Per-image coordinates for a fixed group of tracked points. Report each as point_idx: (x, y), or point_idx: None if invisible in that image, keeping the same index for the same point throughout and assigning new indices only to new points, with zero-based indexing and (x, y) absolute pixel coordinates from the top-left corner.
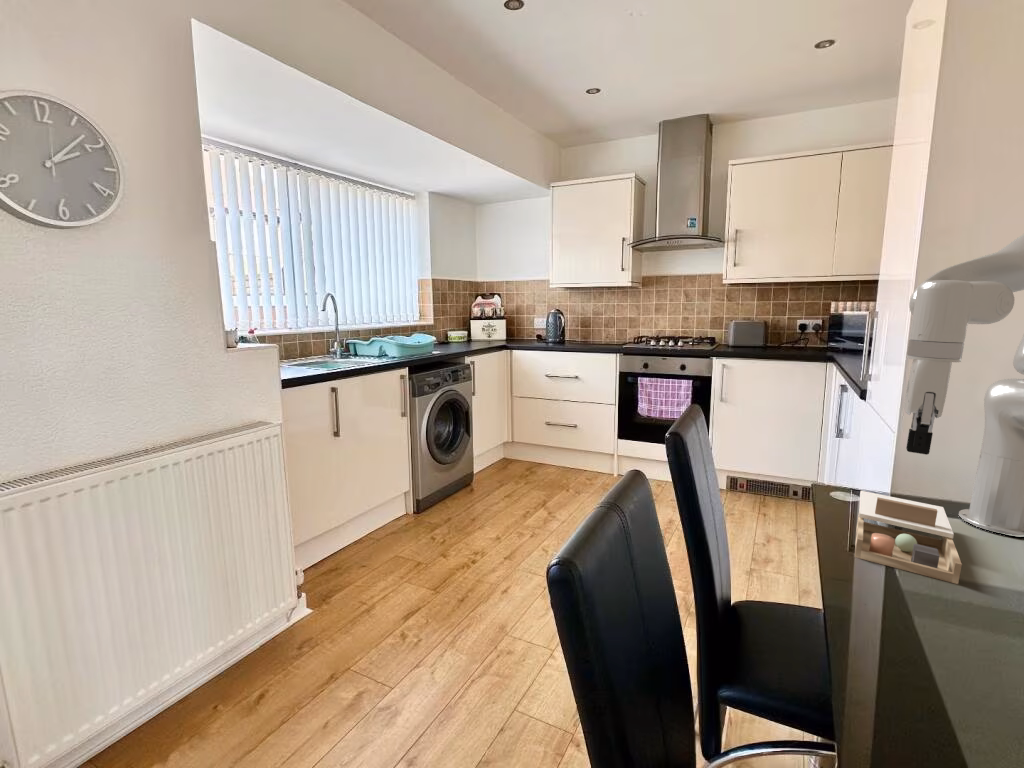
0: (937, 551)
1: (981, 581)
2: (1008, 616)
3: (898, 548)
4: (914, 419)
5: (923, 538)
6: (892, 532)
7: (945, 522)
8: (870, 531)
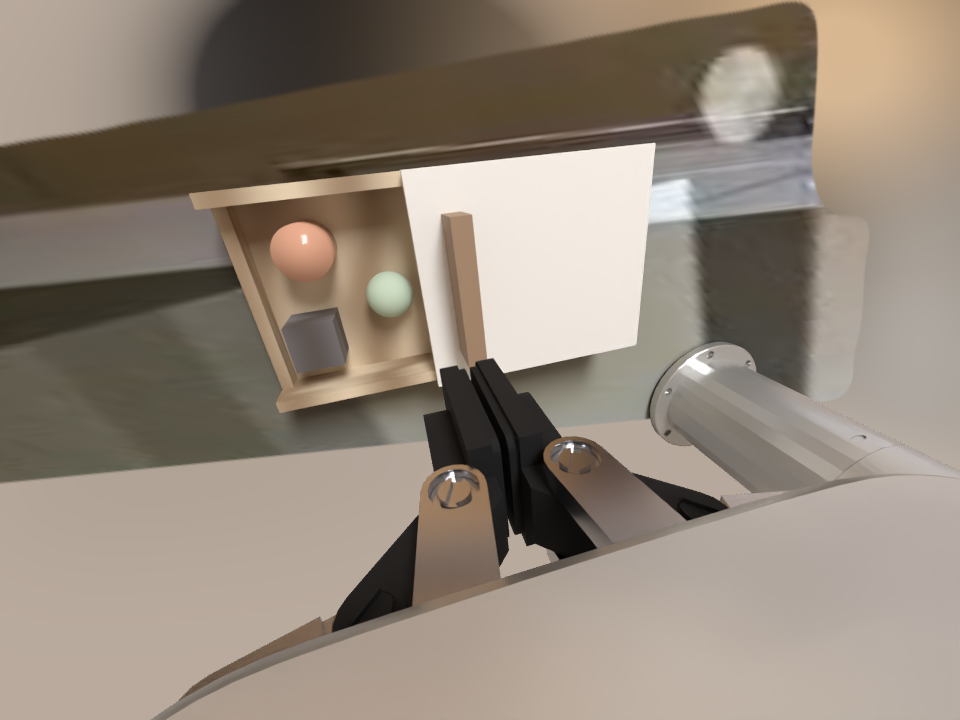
0: (327, 366)
1: (377, 407)
2: (247, 451)
3: None
4: (413, 592)
5: None
6: None
7: (515, 363)
8: None
